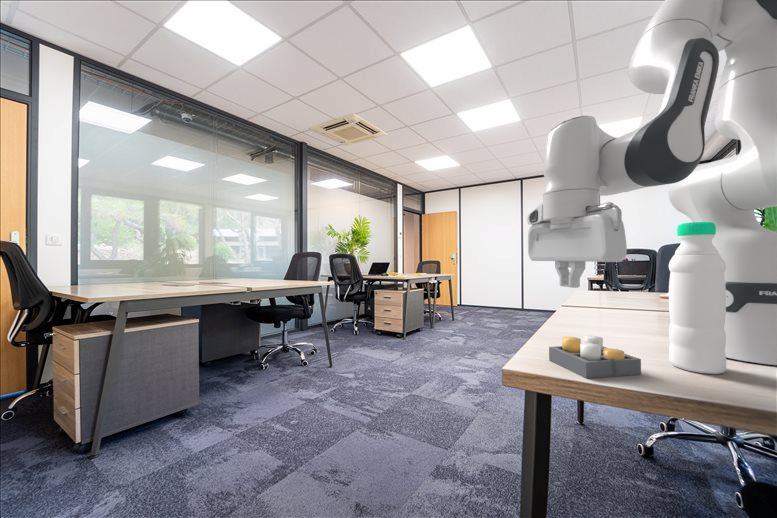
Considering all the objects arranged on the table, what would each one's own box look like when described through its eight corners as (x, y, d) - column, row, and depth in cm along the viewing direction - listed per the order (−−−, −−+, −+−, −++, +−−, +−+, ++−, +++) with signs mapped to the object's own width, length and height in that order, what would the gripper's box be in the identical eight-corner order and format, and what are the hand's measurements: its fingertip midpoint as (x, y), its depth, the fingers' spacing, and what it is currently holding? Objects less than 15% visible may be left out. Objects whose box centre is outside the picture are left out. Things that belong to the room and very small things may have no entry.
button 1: (572, 350, 59) (572, 336, 59) (584, 355, 56) (584, 340, 56) (558, 351, 58) (558, 336, 58) (570, 356, 55) (569, 340, 55)
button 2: (591, 358, 54) (591, 342, 54) (605, 363, 51) (605, 347, 51) (576, 359, 54) (576, 343, 54) (589, 364, 51) (589, 348, 51)
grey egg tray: (596, 357, 60) (596, 344, 60) (641, 374, 51) (640, 359, 51) (549, 360, 59) (549, 346, 59) (586, 378, 50) (586, 362, 50)
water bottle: (700, 361, 57) (700, 224, 57) (739, 376, 50) (739, 219, 50) (658, 360, 58) (658, 225, 58) (691, 374, 51) (691, 220, 51)
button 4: (614, 363, 55) (613, 347, 55) (629, 369, 52) (628, 352, 52) (599, 364, 55) (599, 348, 55) (613, 370, 52) (613, 353, 52)
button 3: (594, 349, 59) (593, 335, 59) (606, 354, 56) (606, 339, 56) (580, 350, 59) (580, 335, 59) (592, 354, 56) (592, 339, 56)
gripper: (638, 200, 47) (638, 293, 47) (549, 218, 67) (549, 282, 67) (601, 199, 46) (600, 293, 46) (522, 217, 66) (521, 282, 66)
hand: (569, 287), depth 57 cm, fingers closed
